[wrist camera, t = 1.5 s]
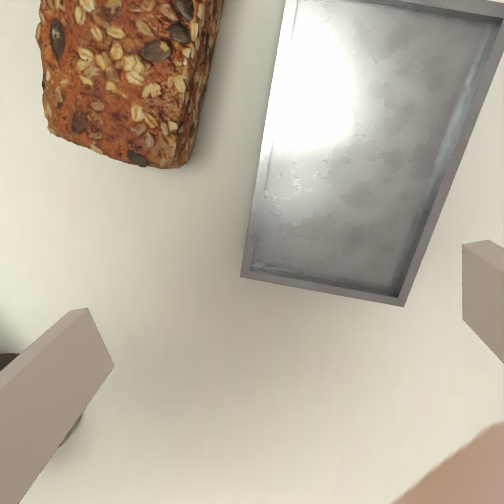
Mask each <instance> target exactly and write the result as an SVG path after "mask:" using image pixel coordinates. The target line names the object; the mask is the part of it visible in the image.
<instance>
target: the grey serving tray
mask: <svg viewBox="0 0 504 504" xmlns="http://www.w3.org/2000/svg"><path fill="white" fill-rule="evenodd" d="M503 51H504V3H499V2H493V1H487V0H286V2H285V8H284V14H283V20H282V26H281V32H280V38H279V44H278V50H277V56H276V62H275V69H274V75H273V81H272V87H271V93H270V99H269V105H268V111H267V117H266V123H265V129H264V135H263V141H262V147H261V153H260V159H259V165H258V171H257V177H256V183H255V189H254V195H253V201H252V207H251V213H250V219H249V226H248V232H247V238H246V244H245V250H244V256H243V262H242V268H241V274H240V277H243V278H248V279H254V280H259V281H265V282H270V283H276V284H281V285H286V286H292V287H297V288H303V289H308V290H314V291H319V292H324V293H330V294H335V295H341V296H346V297H352V298H357V299H363V300H368V301H373V302H379V303H384V304H390V305H395V306H401V307H404V305H405V302H406V300H407V297H408V295H409V292H410V290H411V287H412V284H413V282H414V279H415V277H416V274H417V272H418V269H419V267H420V264H421V261H422V259H423V256H424V254H425V251H426V249H427V246H428V243H429V241H430V238H431V236H432V233H433V231H434V228H435V226H436V223H437V220H438V218H439V215H440V213H441V210H442V208H443V205H444V203H445V200H446V197H447V195H448V192H449V190H450V187H451V185H452V182H453V179H454V177H455V174H456V172H457V169H458V167H459V164H460V162H461V159H462V156H463V154H464V151H465V149H466V146H467V144H468V141H469V138H470V136H471V133H472V131H473V128H474V126H475V123H476V121H477V118H478V115H479V113H480V110H481V108H482V105H483V103H484V100H485V97H486V95H487V92H488V90H489V87H490V85H491V82H492V80H493V77H494V74H495V72H496V69H497V67H498V64H499V62H500V59H501V57H502V54H503Z"/></svg>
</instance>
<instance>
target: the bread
mask: <svg viewBox="0 0 504 504" xmlns="http://www.w3.org/2000/svg"><path fill="white" fill-rule="evenodd" d="M222 3H223V0H41V4H40V9H39V17H40V20H41V22H40V23H39V24H38V25H37V29H36V36H35V38H36V40H37V43H38V45H39V48H40V51H41V58H42V66H43V81H42V87H43V91H44V93H43V106H44V113H45V117H46V118H47V120H48V127H47V128H48V129H49V131H50V132H51V133H52V134H54V135H56V136H57V137H62V138H63V139H65V140H67V141H69V142H73V143H74V144H77V145H80V146H83V147H87V148H89V149H91V150H93V151H95V152H96V153H99V154H102V155H106V156H108V157H110V158H112V159H116V160H119V161H122V162H125V163H128V164H134V165H139V166H140V167H146V166H150V167H156V168H160V169H172V168H180V166H183V165H184V164H187V160H188V159H189V156H190V154H191V151H192V147H193V143H194V139H195V133H196V129H197V126H198V118H199V112H200V108H201V105H202V101H203V94H204V92H205V91H206V82H207V78H208V74H209V71H210V67H211V63H210V62H211V59H212V56H213V52H214V47H215V42H216V37H217V33H218V28H219V23H220V18H221V7H222Z"/></svg>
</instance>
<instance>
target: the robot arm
mask: <svg viewBox="0 0 504 504" xmlns="http://www.w3.org/2000/svg"><path fill="white" fill-rule="evenodd" d="M462 314H463V320H464V321H465V322H466V323H467V324H468V326H469V327H470V328H471V329H472V330H473V331H474V332H475V333H476V334H477V335H478V336H479V337H480V339H481V340H482V341H483V342H484V343H485V344H486V345H487V346H488V347H489V348H490V349H491V350H492V351H493V353H494V354H495V355H496V356H497V357H498V358H499V359H500V360H501V361H502V362H503V363H504V248H502V247H501V246H499V245H497V244H495V243H493V242H492V241H490V240H485V241H479V242H473V243H467V244H462ZM113 367H114V364H113V362H112V360H111V358H110V355H109V353H108V351H107V349H106V347H105V344H104V342H103V340H102V338H101V336H100V334H99V331H98V329H97V327H96V325H95V323H94V321H93V318H92V316H91V314H90V312H89V310H88V308H84V309H78V310H72V311H69V312H68V313H67V314H66V315H64V316H63V317H62V318H61V319H60V320H59V321H58V322H56V323H55V324H54V325H53V326H52V327H51V328H50V329H48V330H47V331H46V332H45V333H44V334H43V335H42V336H40V337H39V338H38V339H37V340H36V341H35V342H34V343H32V344H31V345H30V346H29V347H28V348H27V349H26V350H24V351H23V352H22V353H21V354H20V355H16V354H2V355H0V504H19V502H20V501H21V500H22V498H23V497H24V495H25V494H26V492H27V491H28V489H29V488H30V487H31V485H32V484H33V482H34V481H35V479H36V478H37V477H38V475H39V474H40V472H41V471H42V469H43V468H44V466H45V465H46V464H47V462H48V461H49V459H50V458H51V456H52V455H53V454H54V452H55V451H56V449H57V448H58V447H60V446H61V445H62V444H63V443H64V442H65V441H66V440H67V439H68V438H69V436H70V435H71V433H72V432H73V430H74V429H75V428H76V426H77V424H78V423H79V420H80V417H81V413H82V412H83V411H84V409H85V408H86V406H87V405H88V403H89V402H90V400H91V399H92V398H93V396H94V395H95V393H96V392H97V390H98V389H99V388H100V386H101V385H102V383H103V382H104V380H105V379H106V377H107V376H108V375H109V373H110V372H111V370H112V369H113Z"/></svg>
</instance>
